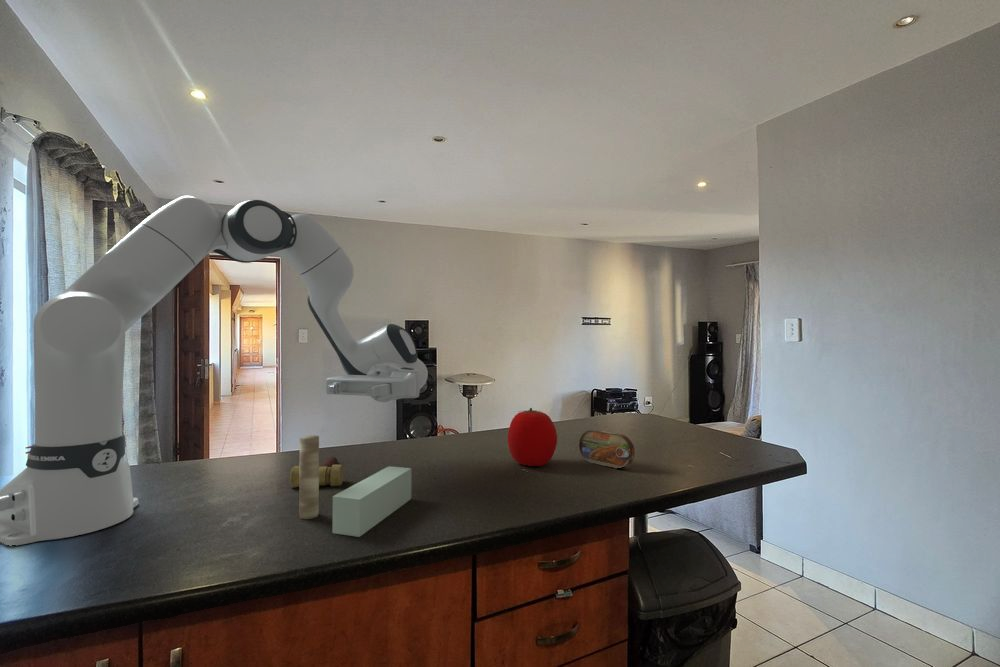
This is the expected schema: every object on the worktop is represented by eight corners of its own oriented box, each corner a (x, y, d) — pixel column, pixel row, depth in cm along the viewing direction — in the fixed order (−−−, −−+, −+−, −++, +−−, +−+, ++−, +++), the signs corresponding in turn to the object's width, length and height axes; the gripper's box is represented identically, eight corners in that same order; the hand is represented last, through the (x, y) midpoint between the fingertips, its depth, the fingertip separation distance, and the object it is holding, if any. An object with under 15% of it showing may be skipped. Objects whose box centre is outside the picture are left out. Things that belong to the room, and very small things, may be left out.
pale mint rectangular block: (332, 533, 76) (332, 496, 76) (388, 496, 93) (388, 466, 93) (359, 537, 74) (359, 499, 74) (411, 498, 92) (411, 468, 92)
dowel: (295, 518, 82) (295, 438, 82) (307, 511, 85) (307, 434, 85) (310, 520, 81) (310, 439, 81) (322, 513, 84) (322, 436, 84)
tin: (578, 460, 121) (578, 427, 121) (585, 458, 123) (585, 426, 123) (629, 473, 110) (629, 437, 110) (636, 470, 112) (636, 435, 112)
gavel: (314, 450, 118) (355, 449, 119) (313, 468, 117) (354, 467, 119) (290, 468, 97) (339, 466, 99) (289, 490, 97) (339, 489, 98)
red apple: (498, 466, 115) (498, 408, 115) (519, 455, 125) (519, 402, 125) (545, 473, 109) (546, 413, 109) (563, 462, 119) (563, 406, 119)
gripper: (346, 367, 111) (307, 374, 98) (425, 369, 105) (394, 376, 92) (347, 394, 111) (307, 404, 98) (425, 397, 105) (394, 408, 92)
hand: (350, 390), depth 95 cm, fingers open, 8 cm apart
